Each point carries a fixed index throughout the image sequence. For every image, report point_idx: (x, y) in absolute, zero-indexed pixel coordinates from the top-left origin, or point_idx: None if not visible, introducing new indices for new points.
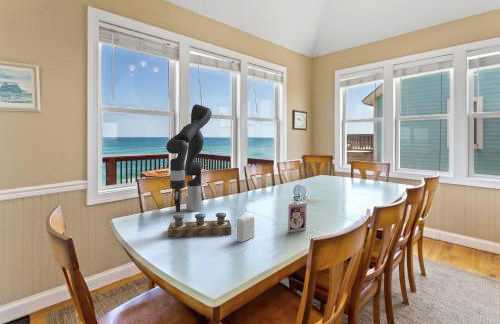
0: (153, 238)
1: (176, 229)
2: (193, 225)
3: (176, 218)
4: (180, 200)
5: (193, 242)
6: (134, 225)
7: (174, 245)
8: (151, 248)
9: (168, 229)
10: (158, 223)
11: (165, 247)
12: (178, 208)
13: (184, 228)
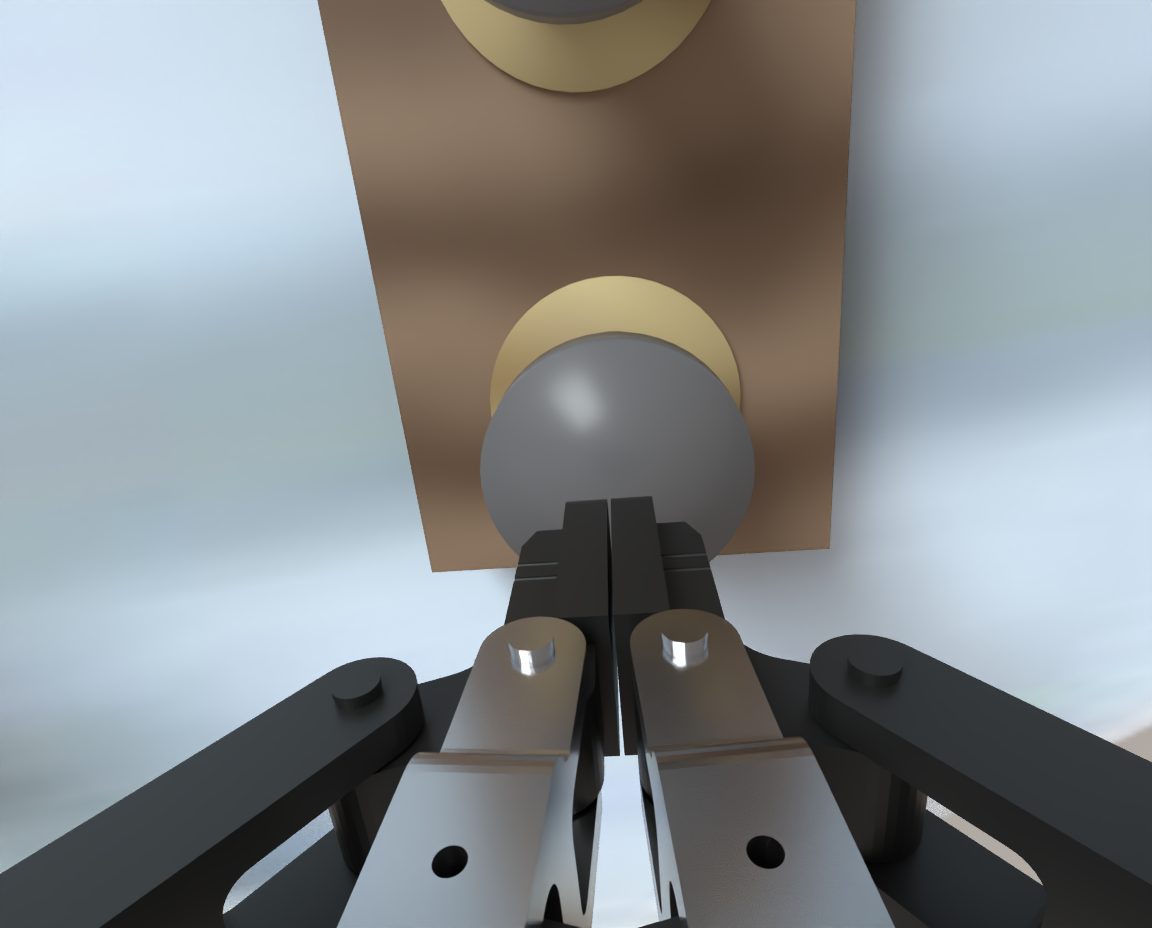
0: (775, 652)
1: (819, 410)
2: (618, 92)
3: (741, 498)
4: (795, 752)
5: (1092, 38)
6: None
7: (1117, 344)
8: (1116, 607)
9: (794, 539)
10: (208, 707)
11: (1147, 453)
12: (707, 587)
13: (786, 268)
